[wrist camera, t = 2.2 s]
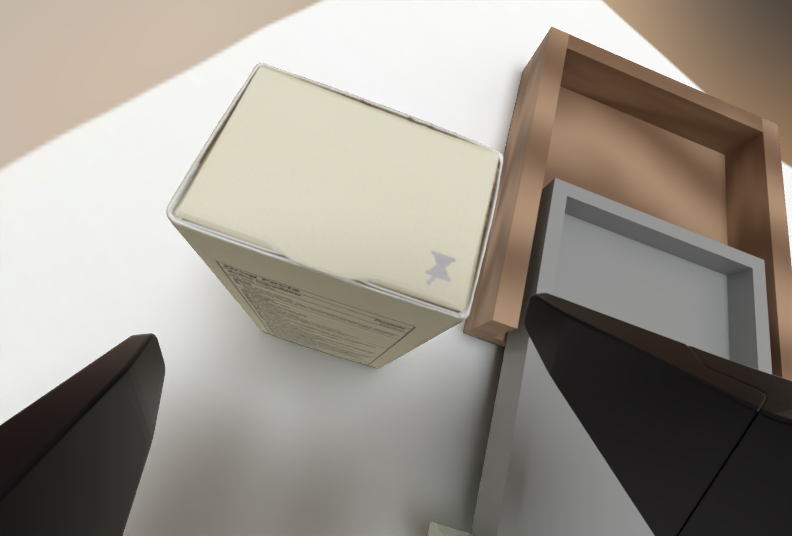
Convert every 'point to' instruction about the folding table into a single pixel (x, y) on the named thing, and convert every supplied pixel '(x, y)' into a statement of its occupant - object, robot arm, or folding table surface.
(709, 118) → the caddy
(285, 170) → the skincare box
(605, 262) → the tray
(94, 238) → the folding table surface
